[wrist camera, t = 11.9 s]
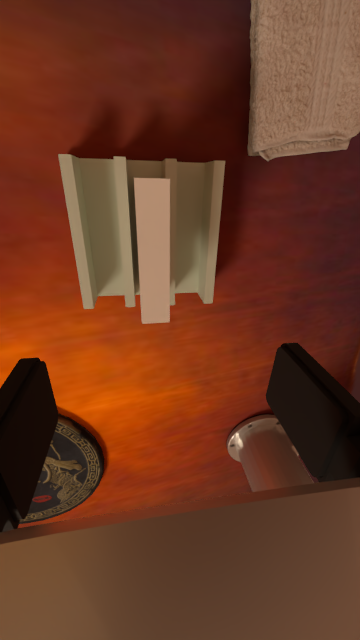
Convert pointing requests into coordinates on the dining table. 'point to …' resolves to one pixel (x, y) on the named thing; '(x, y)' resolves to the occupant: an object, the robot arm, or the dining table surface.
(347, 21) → the washcloth
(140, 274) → the tall tan prism
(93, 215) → the dish rack
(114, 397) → the dining table surface
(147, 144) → the dining table surface
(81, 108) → the dining table surface
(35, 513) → the decorative plate
